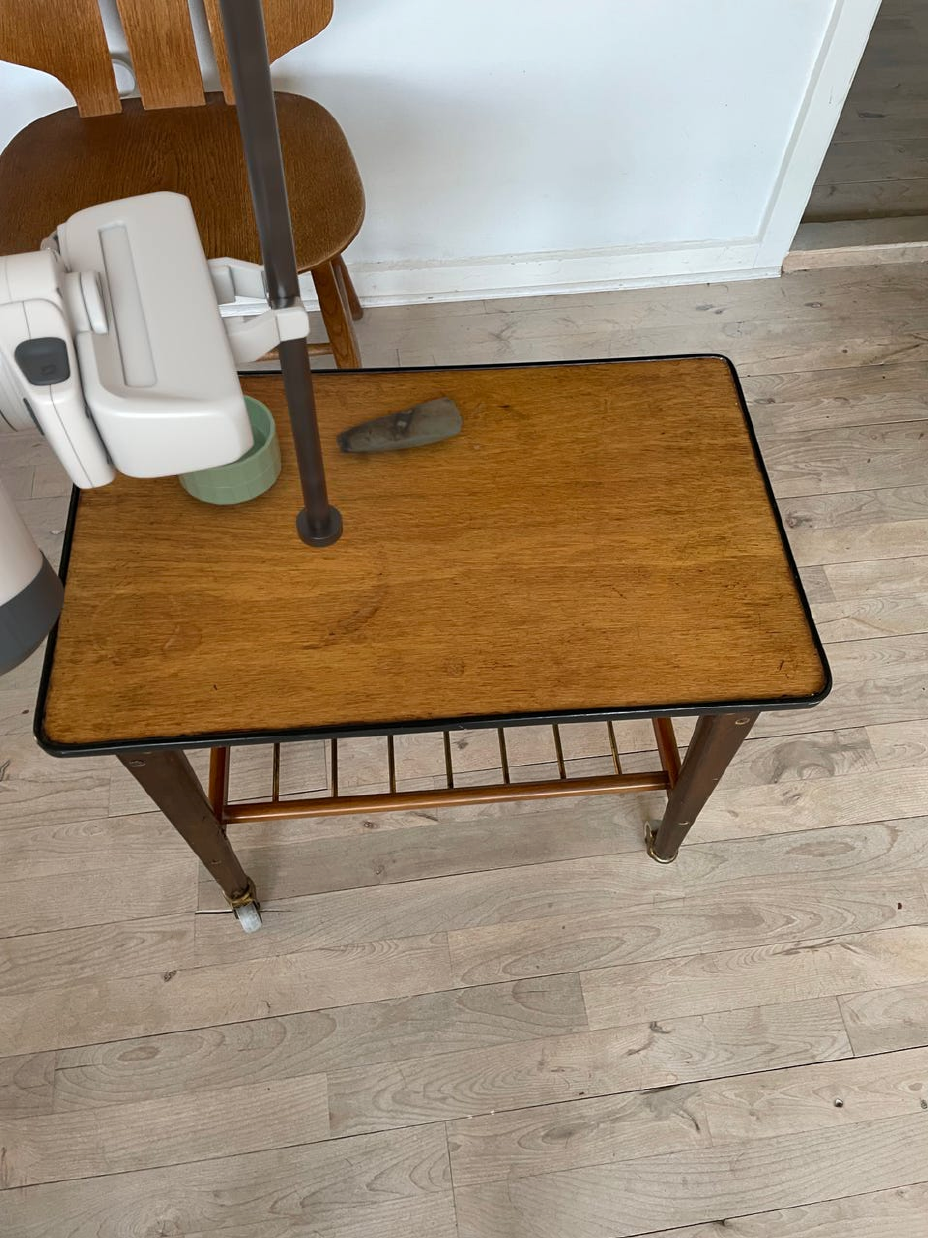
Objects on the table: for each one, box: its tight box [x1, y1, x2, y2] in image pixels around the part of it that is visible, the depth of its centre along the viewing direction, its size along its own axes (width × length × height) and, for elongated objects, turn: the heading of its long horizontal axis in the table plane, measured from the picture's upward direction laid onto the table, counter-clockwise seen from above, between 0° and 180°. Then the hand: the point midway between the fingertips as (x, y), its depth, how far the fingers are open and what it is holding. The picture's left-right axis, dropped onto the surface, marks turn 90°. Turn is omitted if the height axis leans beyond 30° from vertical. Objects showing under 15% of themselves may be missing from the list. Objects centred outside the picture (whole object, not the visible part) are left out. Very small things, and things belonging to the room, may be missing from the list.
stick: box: [217, 0, 344, 549], centre depth 51 cm, size 4×4×38 cm
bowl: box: [177, 394, 283, 506], centre depth 82 cm, size 10×10×6 cm
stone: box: [335, 397, 463, 454], centre depth 86 cm, size 13×5×2 cm, turn 112°
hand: (300, 298), depth 49 cm, fingers closed on stick, 2 cm apart
